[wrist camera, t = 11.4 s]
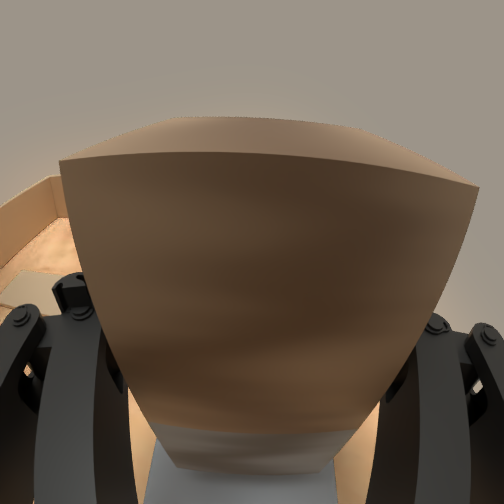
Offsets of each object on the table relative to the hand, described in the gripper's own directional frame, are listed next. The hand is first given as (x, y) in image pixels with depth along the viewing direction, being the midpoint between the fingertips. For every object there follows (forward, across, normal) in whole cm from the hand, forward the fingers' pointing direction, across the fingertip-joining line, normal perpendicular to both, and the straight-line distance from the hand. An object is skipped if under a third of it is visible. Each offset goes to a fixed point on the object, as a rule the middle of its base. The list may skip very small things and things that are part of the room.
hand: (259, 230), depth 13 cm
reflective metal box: (-5, 0, -7) cm, 9 cm away
